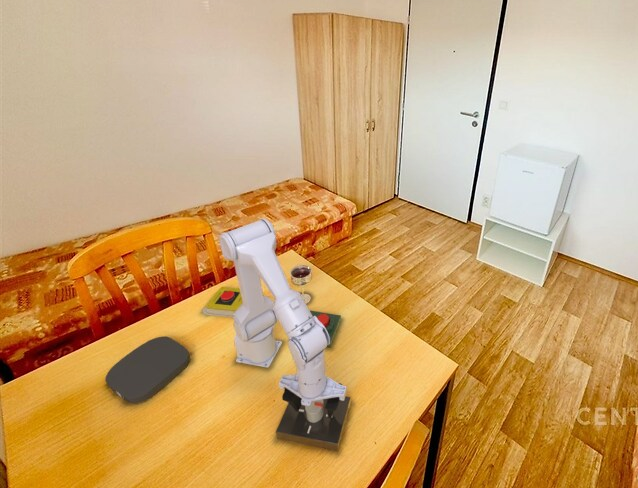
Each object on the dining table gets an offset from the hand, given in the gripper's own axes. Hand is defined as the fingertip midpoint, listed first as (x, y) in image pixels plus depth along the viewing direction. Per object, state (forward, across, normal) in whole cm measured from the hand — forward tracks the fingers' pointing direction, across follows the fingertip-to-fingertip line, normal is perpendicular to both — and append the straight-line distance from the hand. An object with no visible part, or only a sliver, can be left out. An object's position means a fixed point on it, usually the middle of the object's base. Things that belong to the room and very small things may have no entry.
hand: (314, 410), depth 72 cm
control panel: (+4, 0, 0) cm, 4 cm away
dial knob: (+1, 0, 0) cm, 1 cm away
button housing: (+4, -9, +24) cm, 26 cm away
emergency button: (+4, -39, +28) cm, 48 cm away
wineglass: (+4, -18, +35) cm, 40 cm away
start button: (+1, -7, +24) cm, 25 cm away
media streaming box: (+4, -46, +4) cm, 46 cm away
